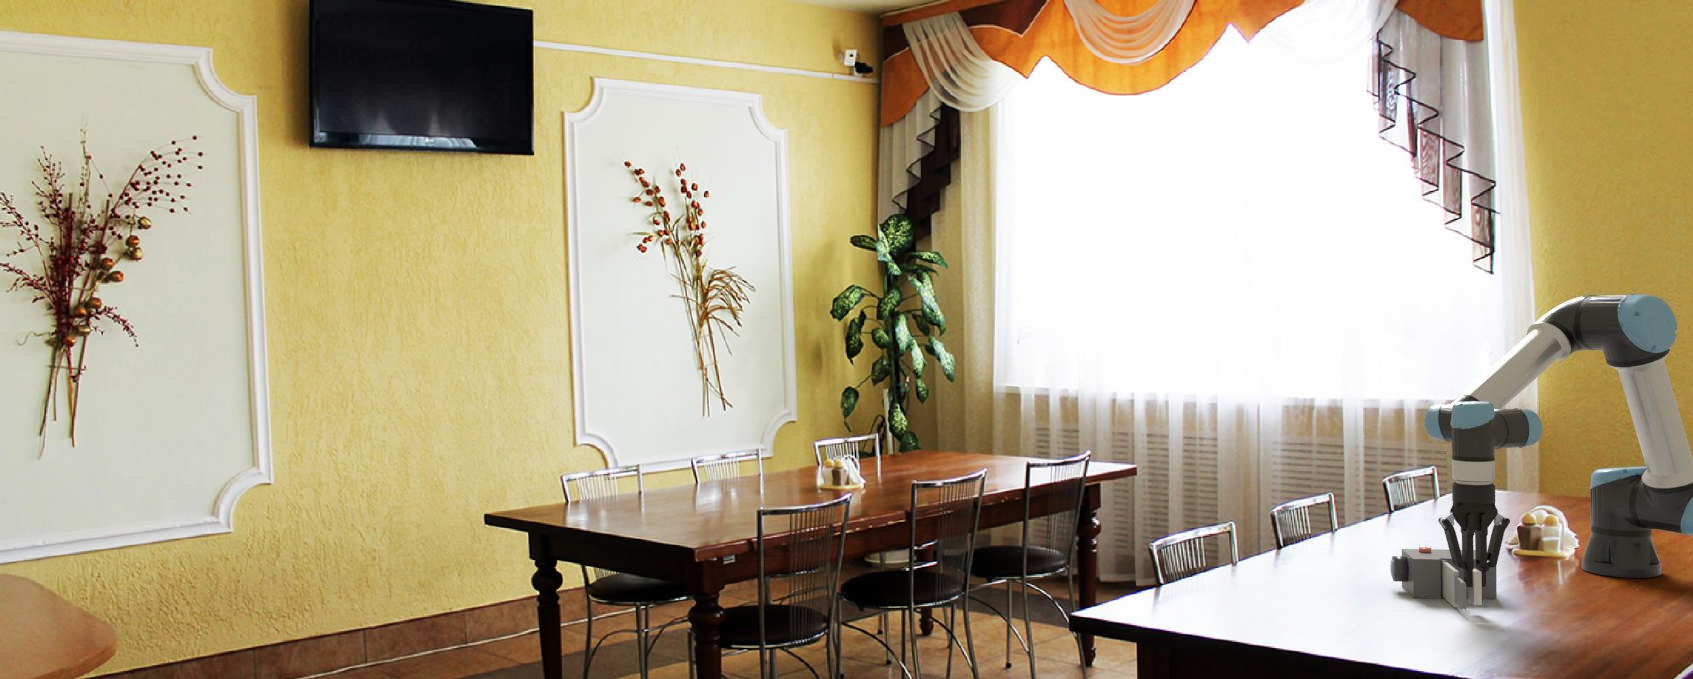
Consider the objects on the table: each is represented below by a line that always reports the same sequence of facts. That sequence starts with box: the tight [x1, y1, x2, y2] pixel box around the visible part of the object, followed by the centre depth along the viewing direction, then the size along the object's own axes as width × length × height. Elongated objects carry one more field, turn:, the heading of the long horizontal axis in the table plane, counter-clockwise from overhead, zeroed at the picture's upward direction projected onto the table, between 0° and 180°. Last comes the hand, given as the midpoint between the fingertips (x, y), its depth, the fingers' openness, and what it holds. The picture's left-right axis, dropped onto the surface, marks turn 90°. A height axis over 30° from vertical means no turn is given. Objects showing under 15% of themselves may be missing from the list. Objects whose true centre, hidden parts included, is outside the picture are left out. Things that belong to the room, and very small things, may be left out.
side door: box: [1441, 560, 1467, 610], centre depth 262 cm, size 16×1×8 cm, turn 168°
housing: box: [1389, 546, 1497, 600], centre depth 274 cm, size 19×11×9 cm, turn 79°
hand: (1475, 603), depth 256 cm, fingers closed
